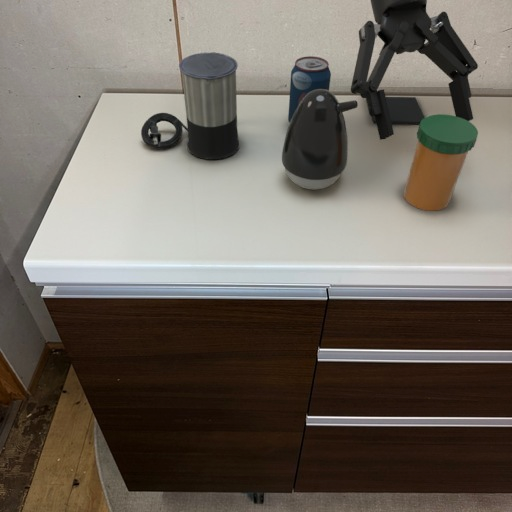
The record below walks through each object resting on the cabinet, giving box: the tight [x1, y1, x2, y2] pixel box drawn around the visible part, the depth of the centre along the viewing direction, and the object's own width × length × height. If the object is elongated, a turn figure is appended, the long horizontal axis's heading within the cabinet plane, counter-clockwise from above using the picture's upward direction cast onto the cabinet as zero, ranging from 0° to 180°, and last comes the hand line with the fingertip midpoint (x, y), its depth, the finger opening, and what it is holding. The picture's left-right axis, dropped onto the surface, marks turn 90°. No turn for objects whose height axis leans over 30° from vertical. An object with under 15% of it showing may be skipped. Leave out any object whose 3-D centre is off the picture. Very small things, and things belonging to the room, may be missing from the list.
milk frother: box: [140, 51, 240, 160], centre depth 79 cm, size 14×16×15 cm
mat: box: [371, 96, 425, 125], centre depth 93 cm, size 10×10×1 cm
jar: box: [403, 139, 469, 212], centre depth 70 cm, size 7×7×12 cm
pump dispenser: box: [281, 89, 359, 190], centre depth 72 cm, size 10×10×15 cm
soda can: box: [287, 55, 332, 124], centre depth 85 cm, size 7×7×12 cm
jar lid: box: [416, 113, 479, 154], centre depth 66 cm, size 8×8×2 cm
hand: (427, 129), depth 70 cm, fingers open, 13 cm apart
